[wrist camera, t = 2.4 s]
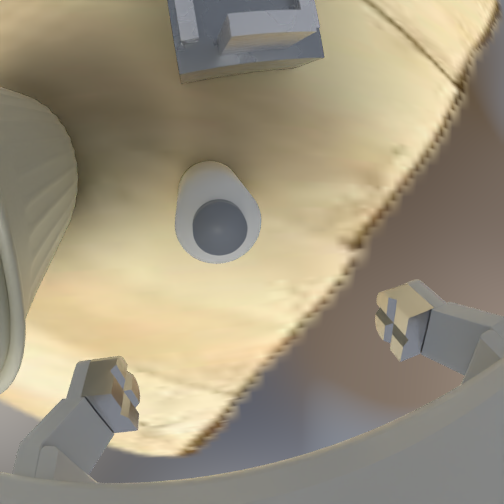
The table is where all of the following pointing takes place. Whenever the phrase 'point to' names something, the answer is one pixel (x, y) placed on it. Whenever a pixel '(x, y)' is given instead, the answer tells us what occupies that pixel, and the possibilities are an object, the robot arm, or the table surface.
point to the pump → (215, 214)
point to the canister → (29, 212)
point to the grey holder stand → (243, 36)
